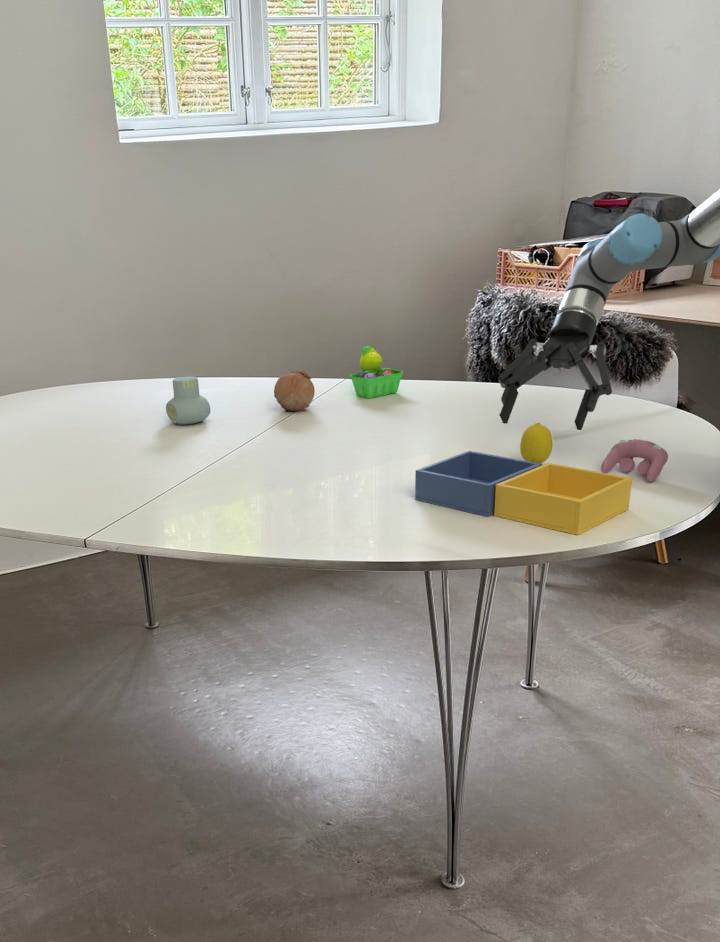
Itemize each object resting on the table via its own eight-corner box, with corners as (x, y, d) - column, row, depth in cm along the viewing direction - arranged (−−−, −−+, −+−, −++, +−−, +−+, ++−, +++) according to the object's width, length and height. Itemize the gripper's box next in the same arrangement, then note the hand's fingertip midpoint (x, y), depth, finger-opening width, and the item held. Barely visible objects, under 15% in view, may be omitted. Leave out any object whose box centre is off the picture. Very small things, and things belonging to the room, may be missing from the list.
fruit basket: (367, 400, 229) (366, 352, 224) (346, 395, 236) (345, 348, 232) (404, 392, 234) (405, 345, 229) (383, 387, 241) (382, 341, 236)
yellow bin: (628, 509, 148) (632, 477, 145) (578, 535, 139) (581, 502, 137) (546, 492, 158) (548, 462, 156) (494, 515, 149) (495, 484, 147)
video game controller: (661, 487, 161) (675, 447, 160) (651, 481, 157) (665, 440, 156) (607, 477, 168) (620, 438, 167) (596, 471, 164) (609, 432, 163)
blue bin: (540, 493, 158) (542, 463, 155) (488, 516, 149) (489, 485, 147) (467, 478, 168) (468, 450, 165) (414, 499, 159) (415, 470, 157)
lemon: (512, 468, 171) (515, 424, 168) (530, 460, 175) (532, 417, 171) (540, 473, 168) (543, 428, 164) (556, 465, 171) (560, 421, 167)
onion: (306, 419, 229) (321, 378, 227) (304, 417, 220) (320, 375, 218) (270, 405, 230) (284, 365, 227) (266, 403, 220) (281, 361, 218)
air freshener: (214, 423, 219) (211, 379, 215) (181, 429, 216) (177, 384, 212) (196, 415, 228) (192, 372, 224) (164, 420, 225) (159, 377, 221)
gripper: (650, 336, 169) (614, 440, 165) (515, 332, 183) (479, 427, 179) (644, 309, 163) (607, 416, 159) (505, 307, 177) (468, 405, 173)
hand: (539, 422), depth 169 cm, fingers open, 13 cm apart
